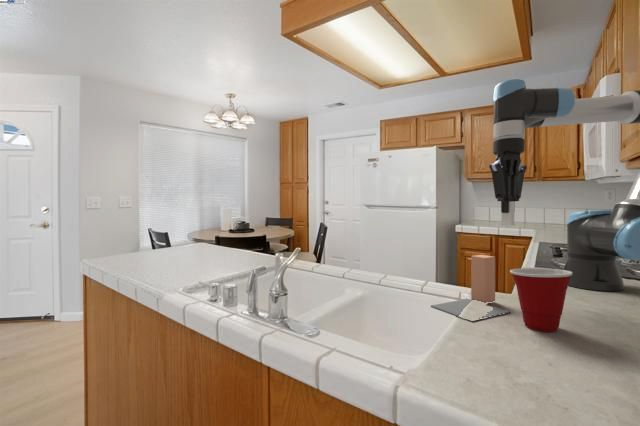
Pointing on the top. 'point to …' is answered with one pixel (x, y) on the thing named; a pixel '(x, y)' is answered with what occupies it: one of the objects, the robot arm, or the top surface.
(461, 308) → the slate mat
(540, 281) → the plastic cup
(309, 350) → the top surface
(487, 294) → the terracotta block
